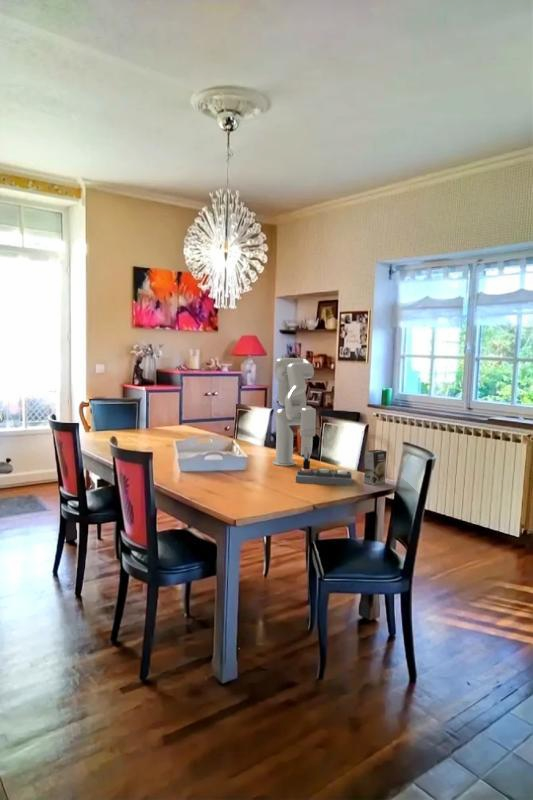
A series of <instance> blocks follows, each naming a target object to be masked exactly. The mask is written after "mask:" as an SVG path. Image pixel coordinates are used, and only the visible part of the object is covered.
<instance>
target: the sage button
mask: <svg viewBox="0 0 533 800" xmlns="http://www.w3.org/2000/svg"><path fill="white" fill-rule="evenodd" d="M318 470H319V473H329V470H330V469H328V468H319V469H318Z"/></svg>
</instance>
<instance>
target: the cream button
mask: <svg viewBox="0 0 533 800" xmlns="http://www.w3.org/2000/svg"><path fill="white" fill-rule="evenodd" d="M336 471H337V474H347V475H348V470H345V469H337V470H336Z"/></svg>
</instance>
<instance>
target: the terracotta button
mask: <svg viewBox="0 0 533 800" xmlns="http://www.w3.org/2000/svg"><path fill="white" fill-rule="evenodd" d="M300 469H301V472H311V469H312V468H311V467H310V469H303V467H301V468H300Z"/></svg>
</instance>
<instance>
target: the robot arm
mask: <svg viewBox="0 0 533 800" xmlns="http://www.w3.org/2000/svg"><path fill="white" fill-rule="evenodd" d="M274 372H275V375H276V378H277V401H278V402H277V403H278V404H279V405H280V406H281V407H282V406H284V408H279V409H277V410H276V412H275V416H274V417H275V425H276V426H275V427H276V428H275V429H276V435H275V436H276V438H275V439H276V440H275V441H276V442H275V460H273V461H272V464H273V465H276V466H280V467H281V466H282V467H283V466H285V467H290V466H294V465H296V461H294V460H293V456H294V454H293V453H294V432H293V430H292V429H291V427H290V426H299V428H300V429H299V435H300V436H301V442H300V443H301V446H300V456H303V463H302V466H303V467H302V468H303V469H310V468H311V466H310V465H311V460H310V458H311V455H312V452H313V451H312V450H313V440H314V439H313V438H314V437H315V436H316V419H317V418H316V417H317V410H316V408H313V406H311V405H307V395H306V394H307V393H306V390H307V385H306V379H312V378H313V377H314V374H315V369H314V366H313V364H312V363H311V362H310V361H309V360H307V359H305V358H304V357H303V358H302V357H281V358H277V359H276V360H275V363H274Z"/></svg>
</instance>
